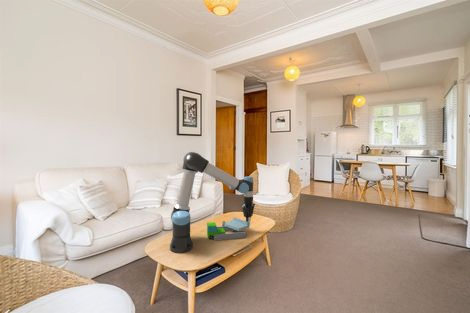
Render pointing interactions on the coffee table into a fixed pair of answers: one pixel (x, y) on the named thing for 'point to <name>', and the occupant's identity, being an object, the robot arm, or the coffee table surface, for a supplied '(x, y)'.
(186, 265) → the coffee table surface
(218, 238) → the grey long bars
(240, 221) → the cover
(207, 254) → the coffee table surface
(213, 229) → the toy car
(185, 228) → the robot arm
